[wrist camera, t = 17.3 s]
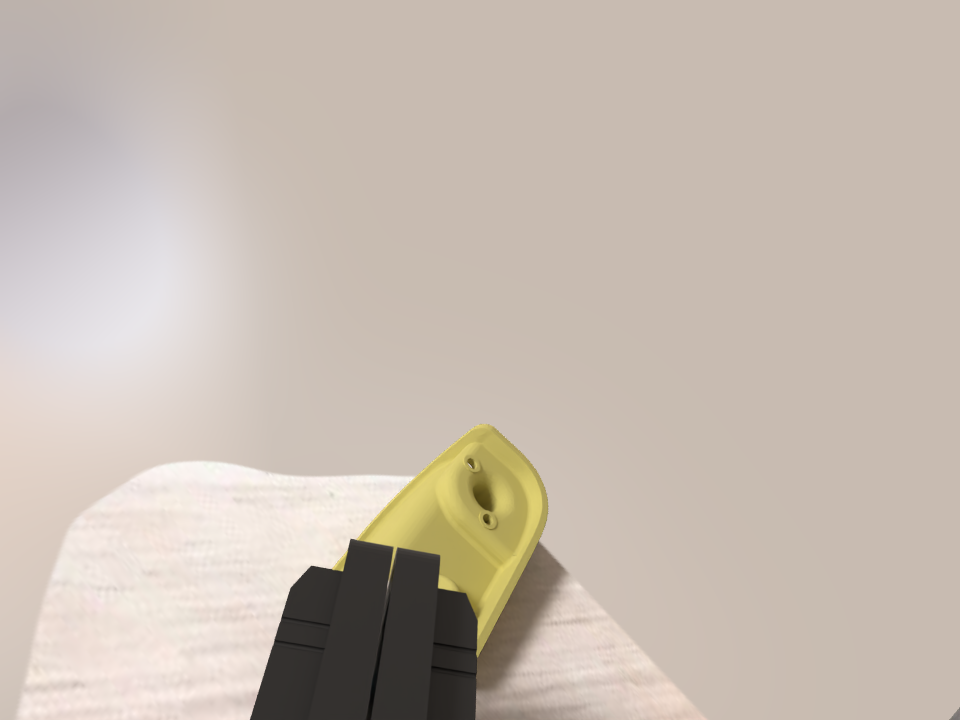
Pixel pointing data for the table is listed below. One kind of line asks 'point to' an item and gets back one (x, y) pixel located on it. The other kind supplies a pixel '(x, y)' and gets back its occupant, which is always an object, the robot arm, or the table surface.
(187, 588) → the table surface
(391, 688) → the robot arm
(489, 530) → the plastic component
